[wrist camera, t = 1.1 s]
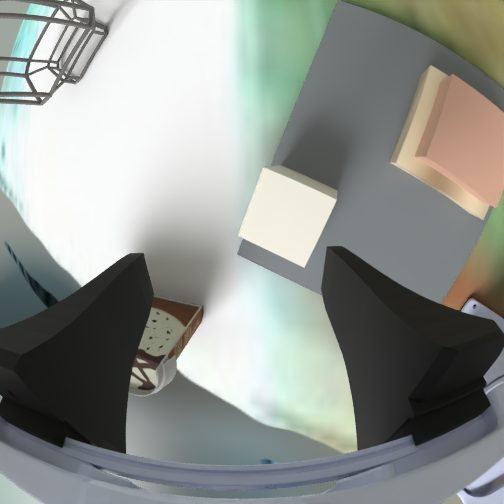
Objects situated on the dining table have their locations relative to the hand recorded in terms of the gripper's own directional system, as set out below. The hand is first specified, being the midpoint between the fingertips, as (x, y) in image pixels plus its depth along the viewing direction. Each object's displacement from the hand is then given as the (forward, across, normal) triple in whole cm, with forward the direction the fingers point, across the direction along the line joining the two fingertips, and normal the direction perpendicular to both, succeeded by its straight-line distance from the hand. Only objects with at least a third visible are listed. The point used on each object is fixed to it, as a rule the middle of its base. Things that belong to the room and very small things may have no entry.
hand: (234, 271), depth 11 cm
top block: (+11, -4, +1) cm, 12 cm away
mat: (+9, -12, -2) cm, 15 cm away
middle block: (+5, -15, -6) cm, 17 cm away
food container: (+14, +9, +16) cm, 23 cm away
